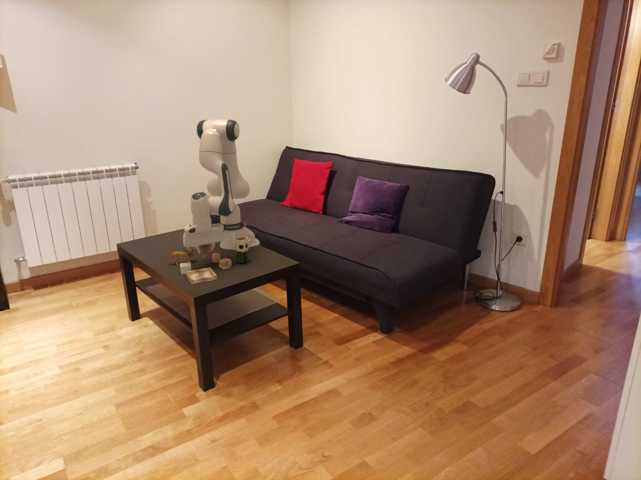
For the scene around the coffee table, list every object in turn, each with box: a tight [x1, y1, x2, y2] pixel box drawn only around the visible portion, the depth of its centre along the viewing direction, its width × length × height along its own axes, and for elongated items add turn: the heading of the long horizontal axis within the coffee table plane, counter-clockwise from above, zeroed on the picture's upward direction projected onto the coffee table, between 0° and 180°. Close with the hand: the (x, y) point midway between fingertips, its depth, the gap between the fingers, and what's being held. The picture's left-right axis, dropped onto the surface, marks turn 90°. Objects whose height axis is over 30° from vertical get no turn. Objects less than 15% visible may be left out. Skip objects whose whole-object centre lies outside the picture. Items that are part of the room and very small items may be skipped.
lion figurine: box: [167, 246, 197, 266], centre depth 249 cm, size 15×5×9 cm, turn 118°
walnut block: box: [199, 243, 213, 259], centre depth 242 cm, size 4×4×5 cm
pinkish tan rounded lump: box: [211, 252, 221, 264], centre depth 252 cm, size 4×4×4 cm
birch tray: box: [185, 267, 218, 285], centre depth 231 cm, size 12×12×2 cm
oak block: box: [218, 257, 232, 270], centre depth 244 cm, size 4×4×4 cm
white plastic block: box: [179, 261, 192, 275], centre depth 238 cm, size 5×5×4 cm
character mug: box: [231, 236, 251, 264], centre depth 249 cm, size 11×7×13 cm, turn 125°
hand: (205, 252), depth 243 cm, fingers closed on walnut block, 4 cm apart
